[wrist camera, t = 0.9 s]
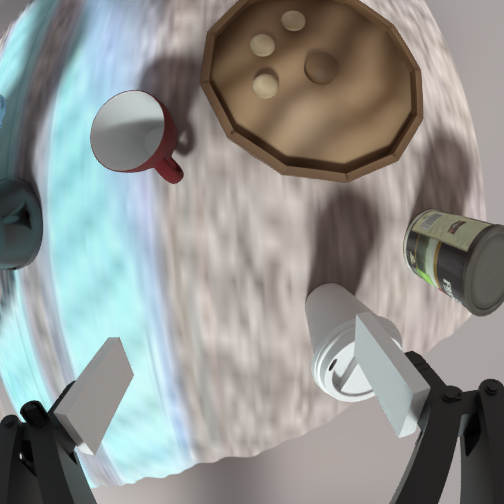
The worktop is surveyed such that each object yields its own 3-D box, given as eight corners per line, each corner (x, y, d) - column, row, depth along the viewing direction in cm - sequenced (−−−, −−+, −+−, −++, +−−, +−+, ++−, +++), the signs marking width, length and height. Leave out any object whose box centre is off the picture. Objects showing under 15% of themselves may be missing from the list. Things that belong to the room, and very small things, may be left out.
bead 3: (275, 27, 27) (277, 16, 24) (288, 14, 27) (290, 3, 24) (295, 38, 28) (299, 27, 25) (307, 25, 27) (311, 14, 24)
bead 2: (247, 92, 30) (246, 84, 27) (261, 75, 29) (262, 65, 26) (268, 106, 30) (269, 99, 27) (282, 87, 29) (285, 79, 26)
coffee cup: (329, 257, 36) (375, 305, 21) (373, 300, 37) (425, 357, 23) (278, 309, 37) (293, 381, 23) (326, 346, 39) (355, 418, 24)
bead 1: (245, 52, 28) (244, 42, 25) (258, 37, 28) (259, 26, 25) (265, 64, 29) (266, 54, 26) (279, 48, 28) (281, 38, 25)
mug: (217, 152, 32) (203, 140, 23) (172, 200, 34) (143, 208, 24) (159, 100, 31) (128, 75, 21) (118, 147, 32) (76, 139, 22)
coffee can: (434, 288, 37) (490, 328, 23) (390, 258, 36) (450, 296, 22) (464, 231, 35) (527, 253, 21) (424, 194, 34) (493, 206, 20)
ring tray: (162, 101, 31) (155, 94, 28) (283, -28, 25) (285, -39, 22) (346, 224, 35) (354, 227, 32) (437, 78, 29) (448, 73, 26)
